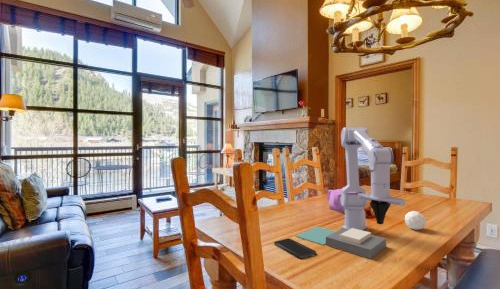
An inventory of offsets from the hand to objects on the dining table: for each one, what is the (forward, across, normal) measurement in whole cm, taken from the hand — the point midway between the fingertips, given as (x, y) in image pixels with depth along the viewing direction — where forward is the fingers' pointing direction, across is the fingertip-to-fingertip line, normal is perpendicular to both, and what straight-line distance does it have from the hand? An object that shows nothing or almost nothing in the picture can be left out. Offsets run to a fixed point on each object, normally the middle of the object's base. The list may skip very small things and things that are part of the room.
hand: (380, 223), depth 88 cm
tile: (+7, -8, 0) cm, 11 cm away
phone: (+11, -22, -18) cm, 31 cm away
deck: (+10, -8, 0) cm, 13 cm away
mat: (+10, -23, 0) cm, 25 cm away
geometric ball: (+10, +2, +36) cm, 37 cm away
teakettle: (+10, -34, +46) cm, 58 cm away
